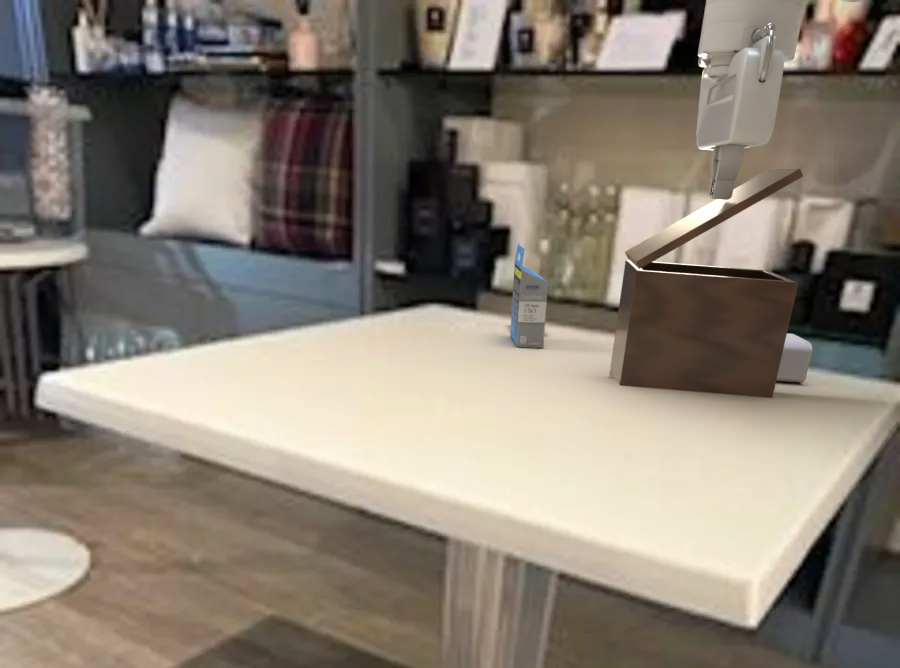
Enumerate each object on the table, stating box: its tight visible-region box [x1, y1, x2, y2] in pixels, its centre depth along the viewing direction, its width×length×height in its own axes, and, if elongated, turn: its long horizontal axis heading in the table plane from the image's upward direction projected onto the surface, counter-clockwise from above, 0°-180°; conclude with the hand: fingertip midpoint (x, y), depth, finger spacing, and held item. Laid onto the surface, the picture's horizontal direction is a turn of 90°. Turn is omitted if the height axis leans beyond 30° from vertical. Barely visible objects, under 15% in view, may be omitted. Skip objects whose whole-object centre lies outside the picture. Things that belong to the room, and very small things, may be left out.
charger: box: [776, 333, 813, 383], centre depth 108 cm, size 5×9×15 cm
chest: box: [608, 259, 799, 399], centre depth 94 cm, size 16×13×13 cm
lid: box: [624, 168, 804, 269], centre depth 89 cm, size 16×13×1 cm
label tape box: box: [509, 242, 549, 349], centre depth 117 cm, size 9×4×12 cm, turn 2°
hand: (719, 199), depth 88 cm, fingers closed, pressing on lid
